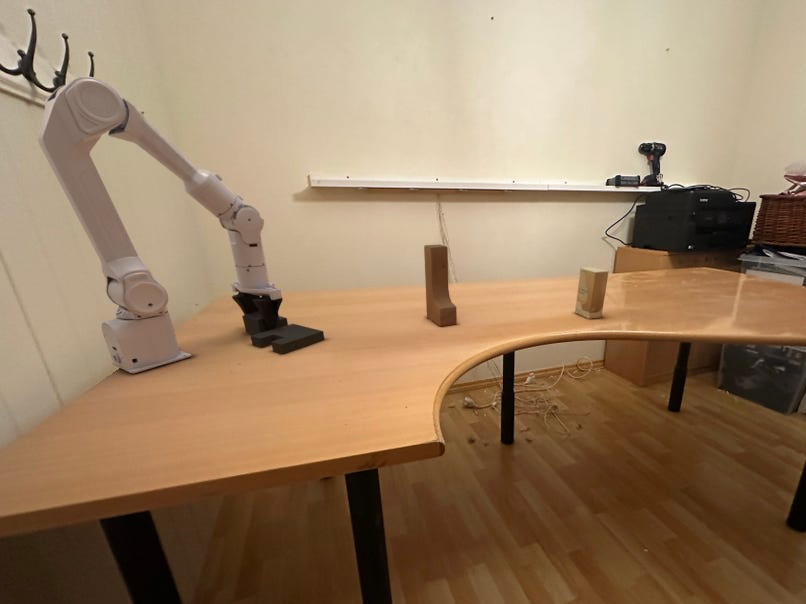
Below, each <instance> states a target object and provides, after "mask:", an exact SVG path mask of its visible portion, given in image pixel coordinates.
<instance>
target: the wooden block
mask: <svg viewBox="0 0 806 604" xmlns="http://www.w3.org/2000/svg"><path fill="white" fill-rule="evenodd" d="M448 250H449V248H448V246H447V245H443V244H425V245H424V246H423V254H424V256H423V257H424V277H425V280H424V281H425V304H426V317H427V318H428V319H429V320H431V321H432V322H434V323H435V324H437V325H438V326H439V327H444V326H451V325H453V326H454V325H457V320H458V319H457V316H458V315H457V306H456V305H455V303H453V302H452V298H451V296H450V290H449V251H448Z"/></svg>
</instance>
